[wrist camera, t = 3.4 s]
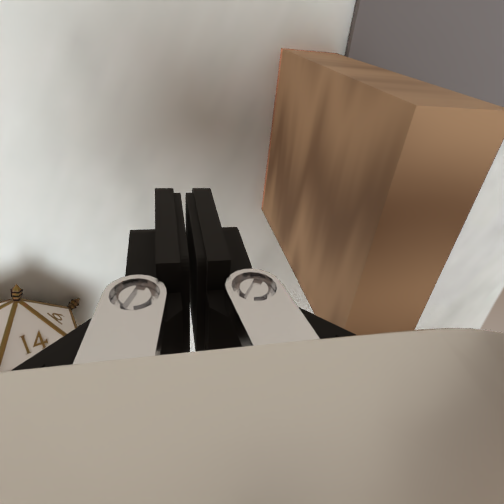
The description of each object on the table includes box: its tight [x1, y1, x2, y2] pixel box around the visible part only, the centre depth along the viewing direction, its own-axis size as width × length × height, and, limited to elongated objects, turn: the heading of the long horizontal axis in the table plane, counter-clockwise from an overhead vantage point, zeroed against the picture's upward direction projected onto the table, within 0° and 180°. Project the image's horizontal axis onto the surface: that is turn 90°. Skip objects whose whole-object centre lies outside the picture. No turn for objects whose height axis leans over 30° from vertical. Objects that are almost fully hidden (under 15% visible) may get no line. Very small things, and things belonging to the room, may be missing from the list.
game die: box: [0, 284, 79, 372], centre depth 21 cm, size 9×8×10 cm
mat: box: [345, 0, 504, 255], centre depth 23 cm, size 18×12×1 cm, turn 174°
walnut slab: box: [262, 48, 504, 335], centre depth 17 cm, size 9×3×12 cm, turn 174°
